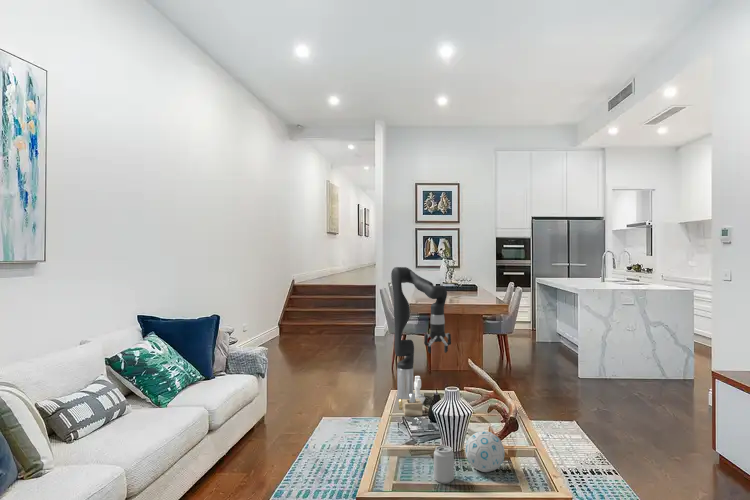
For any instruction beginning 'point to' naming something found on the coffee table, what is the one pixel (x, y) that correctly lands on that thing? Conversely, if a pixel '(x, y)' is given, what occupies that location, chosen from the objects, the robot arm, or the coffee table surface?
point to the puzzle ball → (484, 451)
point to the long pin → (412, 398)
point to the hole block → (411, 407)
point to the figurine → (418, 389)
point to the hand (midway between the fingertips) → (437, 352)
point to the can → (443, 464)
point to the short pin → (400, 404)
